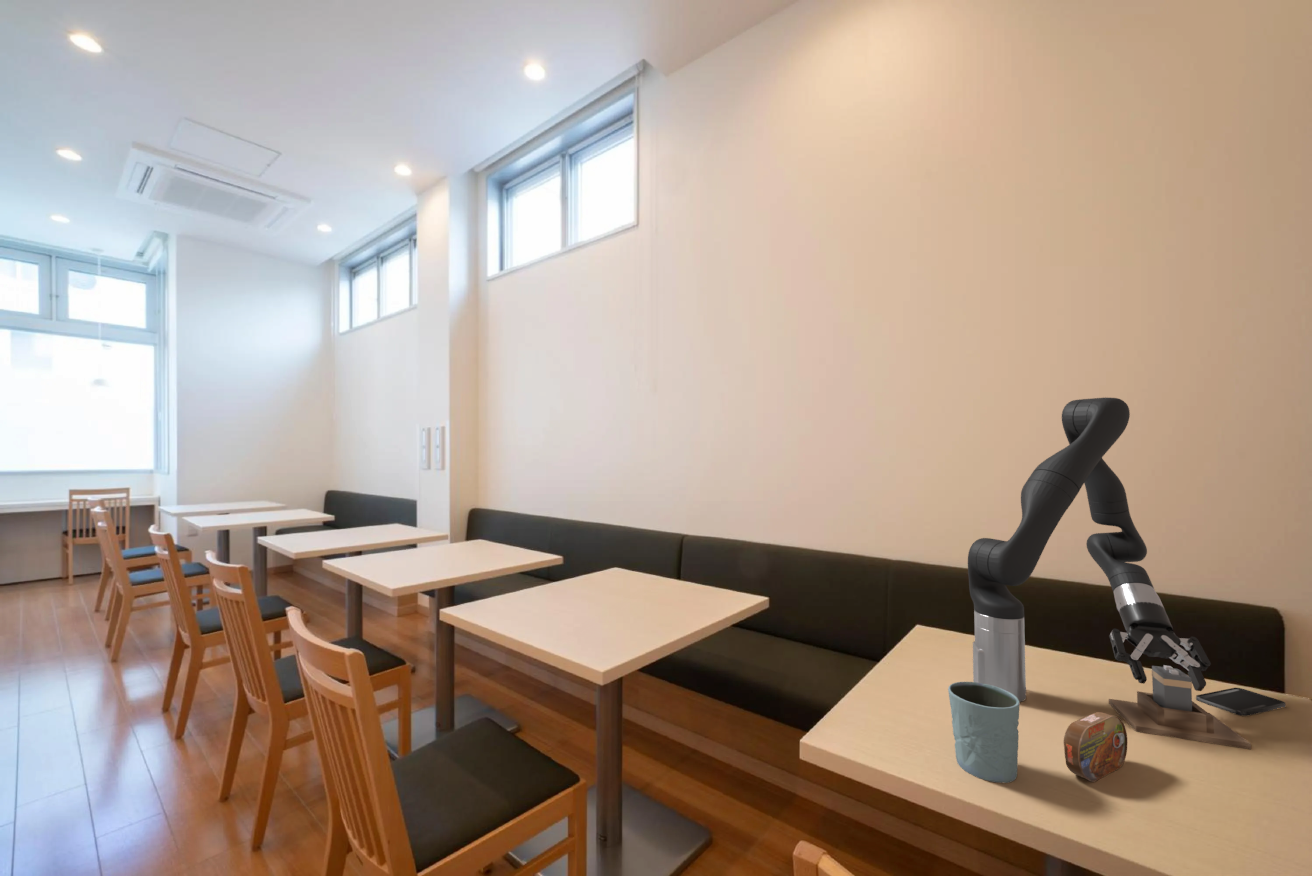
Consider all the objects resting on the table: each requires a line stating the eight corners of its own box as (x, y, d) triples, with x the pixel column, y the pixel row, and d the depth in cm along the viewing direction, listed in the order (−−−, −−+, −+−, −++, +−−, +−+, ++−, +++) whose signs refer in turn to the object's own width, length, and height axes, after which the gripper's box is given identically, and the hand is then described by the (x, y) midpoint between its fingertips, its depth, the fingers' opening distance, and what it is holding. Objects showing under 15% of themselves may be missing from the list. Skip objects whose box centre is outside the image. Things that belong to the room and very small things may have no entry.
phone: (1193, 696, 112) (1237, 686, 116) (1193, 701, 112) (1237, 692, 116) (1243, 713, 104) (1289, 703, 108) (1244, 719, 104) (1289, 708, 108)
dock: (1136, 731, 98) (1135, 709, 99) (1108, 703, 109) (1108, 684, 110) (1251, 749, 92) (1250, 726, 93) (1209, 718, 104) (1208, 697, 104)
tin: (1082, 788, 81) (1081, 733, 82) (1060, 777, 84) (1058, 724, 85) (1130, 763, 88) (1129, 712, 88) (1107, 754, 91) (1106, 704, 91)
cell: (1165, 722, 100) (1163, 671, 100) (1152, 711, 104) (1151, 662, 104) (1193, 726, 98) (1191, 674, 99) (1179, 715, 102) (1178, 665, 103)
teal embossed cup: (1023, 793, 80) (1021, 714, 80) (947, 772, 85) (946, 697, 86) (1019, 761, 89) (1017, 689, 89) (950, 743, 94) (949, 676, 94)
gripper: (1104, 597, 113) (1131, 671, 102) (1191, 604, 108) (1228, 683, 97) (1095, 615, 118) (1119, 687, 107) (1177, 623, 112) (1212, 700, 101)
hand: (1171, 685), depth 102 cm, fingers open, 8 cm apart
